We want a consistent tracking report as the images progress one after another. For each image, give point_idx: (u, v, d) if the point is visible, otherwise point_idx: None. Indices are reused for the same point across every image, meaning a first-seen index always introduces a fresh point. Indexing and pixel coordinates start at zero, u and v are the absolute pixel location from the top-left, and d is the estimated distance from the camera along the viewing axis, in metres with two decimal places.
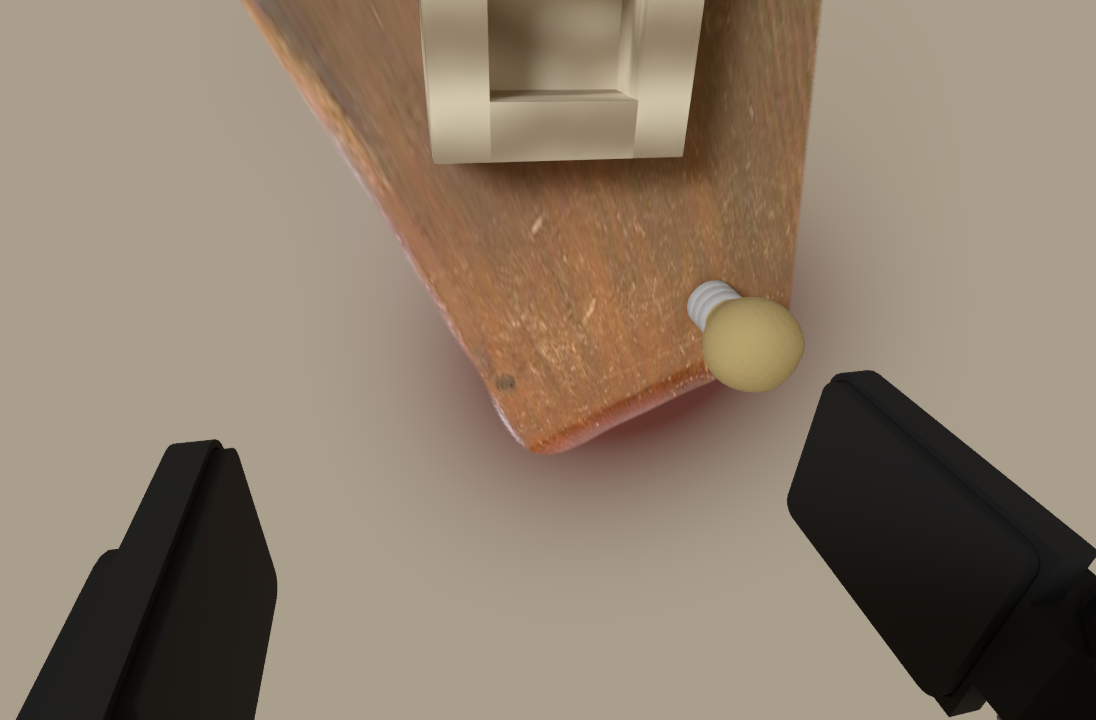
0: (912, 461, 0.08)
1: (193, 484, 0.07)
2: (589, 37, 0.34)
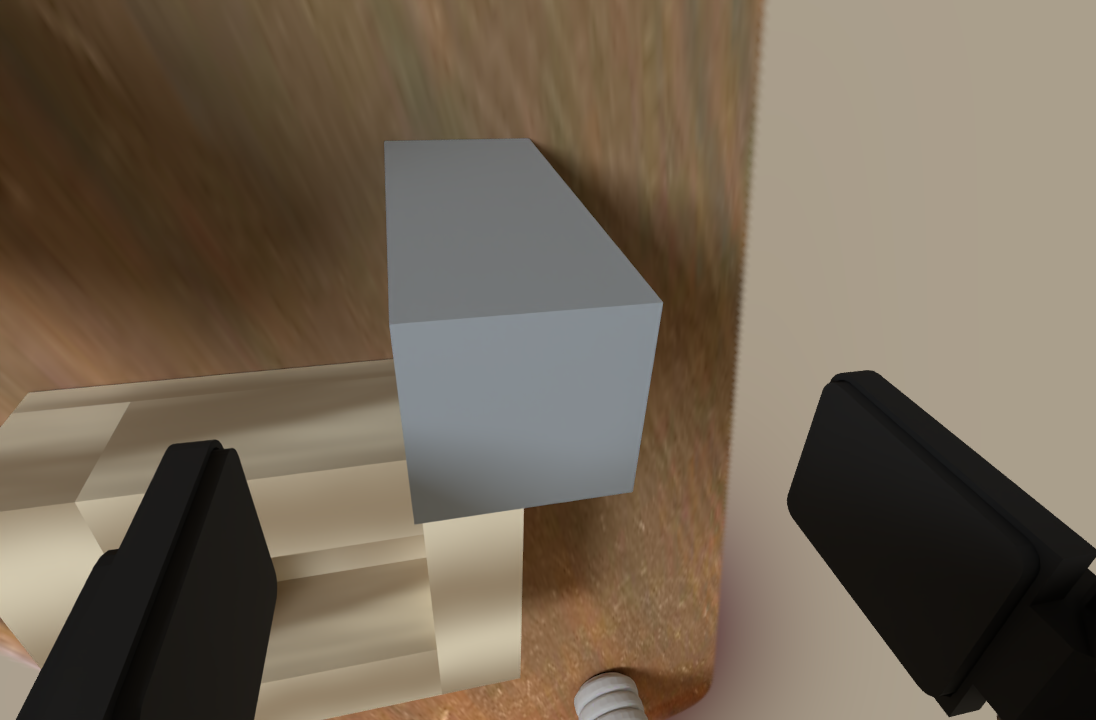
0: (912, 461, 0.08)
1: (193, 484, 0.07)
2: None
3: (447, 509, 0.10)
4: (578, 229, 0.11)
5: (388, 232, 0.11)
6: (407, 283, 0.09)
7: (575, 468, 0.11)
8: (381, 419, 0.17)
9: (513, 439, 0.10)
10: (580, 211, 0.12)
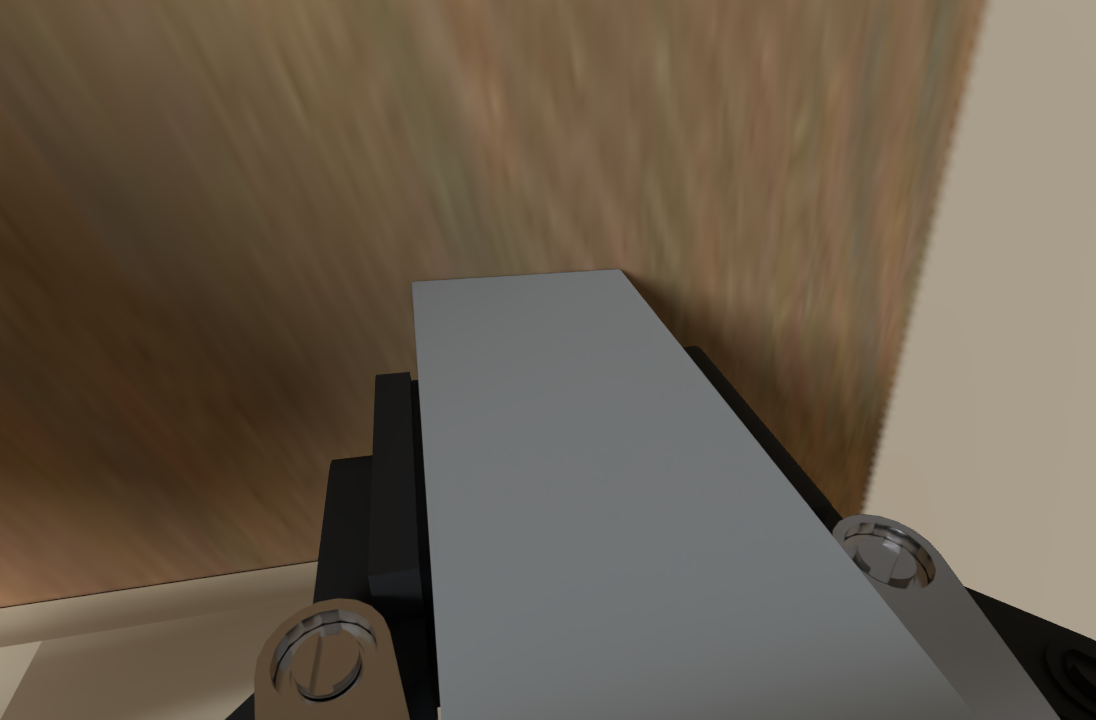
0: None
1: (408, 403, 0.09)
2: None
3: None
4: (796, 550, 0.06)
5: (435, 582, 0.05)
6: None
7: None
8: None
9: None
10: (775, 484, 0.07)
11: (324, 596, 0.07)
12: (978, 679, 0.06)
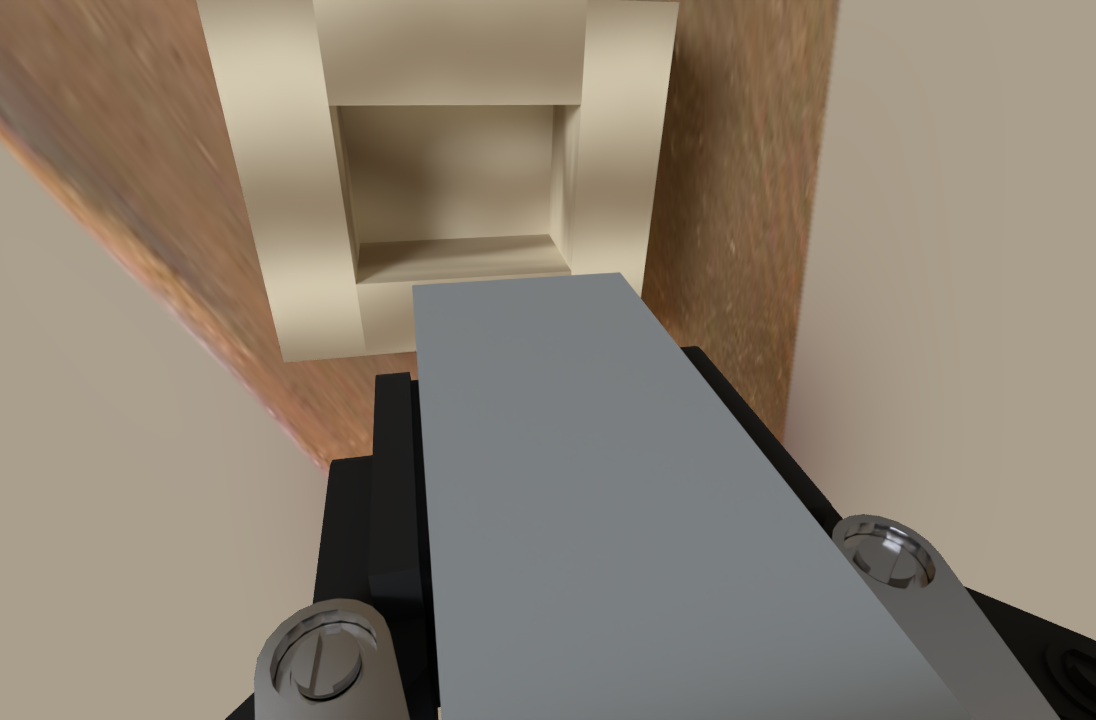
0: None
1: (408, 403, 0.09)
2: (509, 173, 0.25)
3: None
4: (796, 557, 0.06)
5: (435, 588, 0.05)
6: None
7: None
8: None
9: None
10: (775, 489, 0.07)
11: (324, 596, 0.07)
12: (978, 679, 0.06)
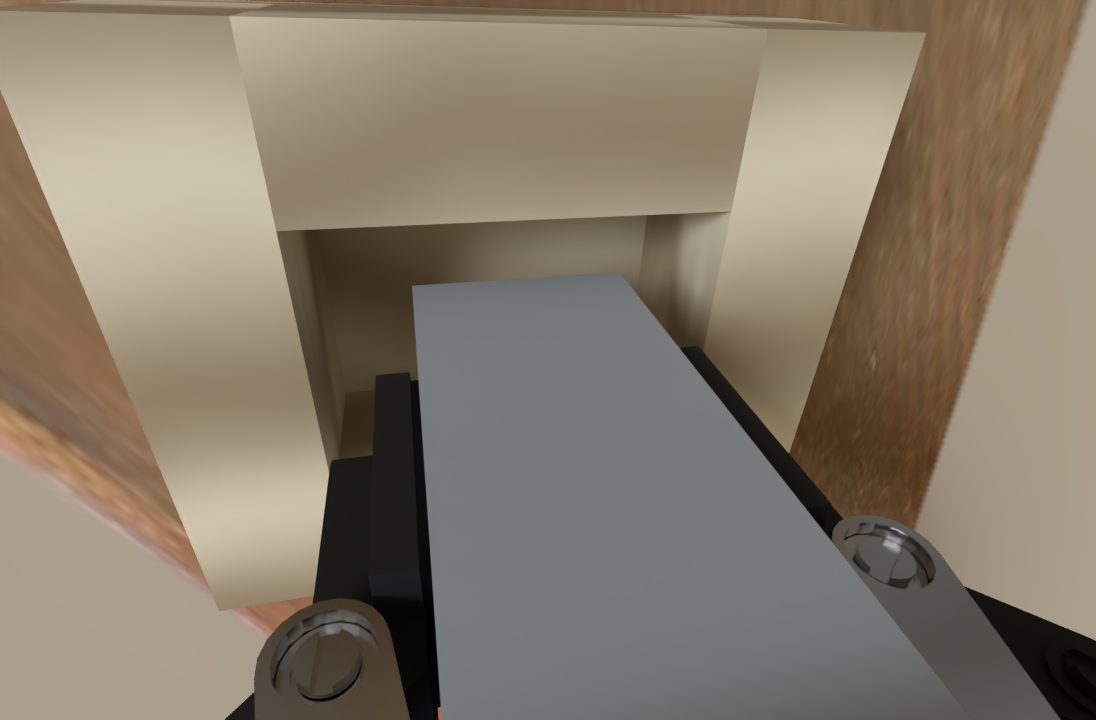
0: None
1: (408, 403, 0.09)
2: None
3: None
4: (794, 557, 0.06)
5: (436, 589, 0.05)
6: None
7: None
8: (673, 20, 0.11)
9: None
10: (775, 489, 0.07)
11: (324, 596, 0.07)
12: (978, 680, 0.06)
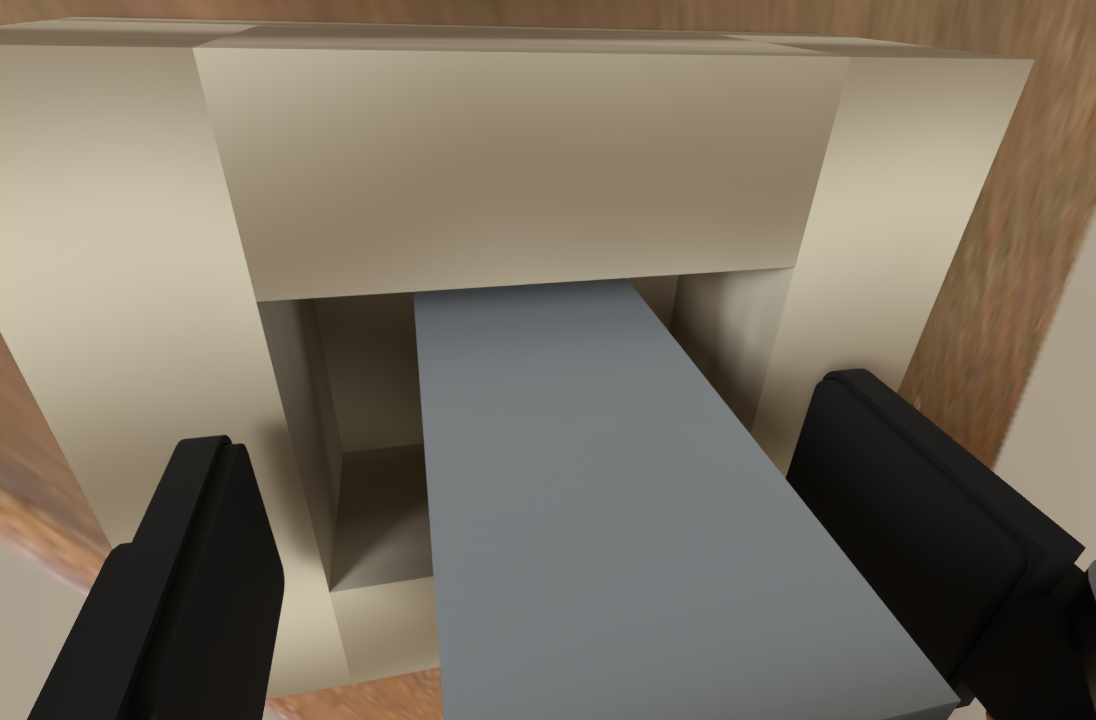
0: (902, 458, 0.08)
1: (203, 479, 0.07)
2: None
3: None
4: (727, 456, 0.07)
5: (428, 475, 0.07)
6: (474, 645, 0.05)
7: None
8: (727, 44, 0.09)
9: None
10: (716, 409, 0.08)
11: None
12: None
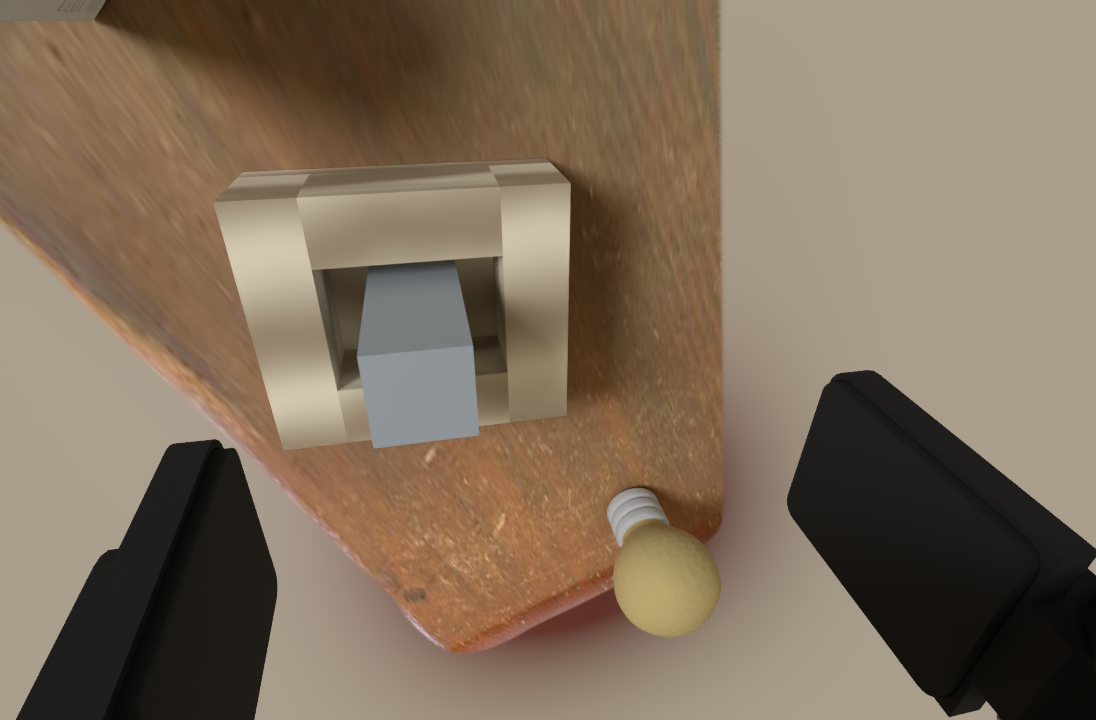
0: (912, 461, 0.08)
1: (193, 484, 0.07)
2: None
3: (388, 441, 0.23)
4: (453, 310, 0.24)
5: (362, 314, 0.23)
6: (367, 339, 0.22)
7: (447, 422, 0.23)
8: (474, 177, 0.26)
9: (415, 406, 0.22)
10: (459, 300, 0.25)
11: None
12: None
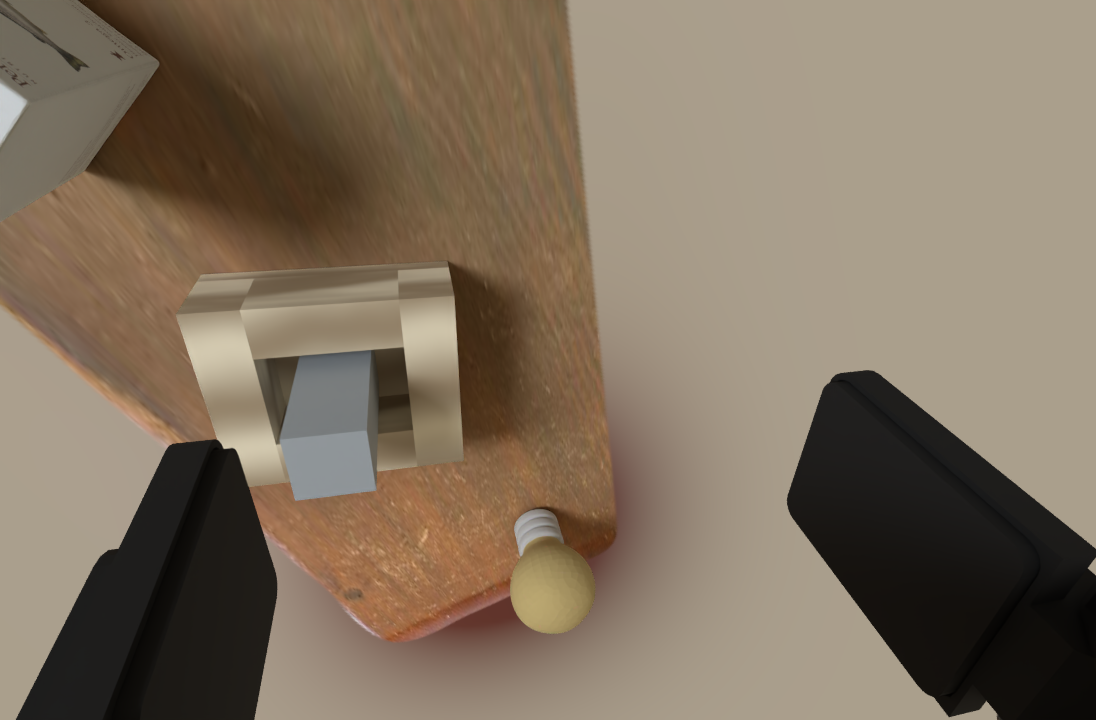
0: (912, 461, 0.08)
1: (193, 484, 0.07)
2: (379, 362, 0.39)
3: (306, 495, 0.31)
4: (359, 395, 0.32)
5: (289, 399, 0.31)
6: (289, 423, 0.30)
7: (351, 481, 0.31)
8: (382, 286, 0.34)
9: (325, 471, 0.30)
10: (365, 385, 0.33)
11: None
12: None
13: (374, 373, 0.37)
